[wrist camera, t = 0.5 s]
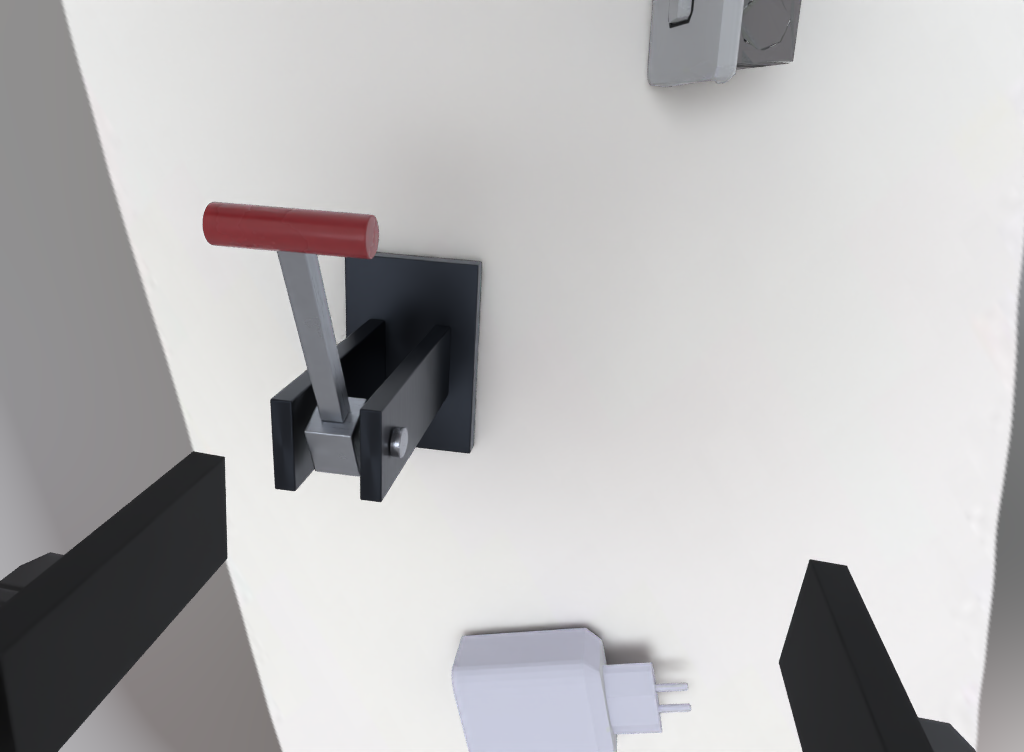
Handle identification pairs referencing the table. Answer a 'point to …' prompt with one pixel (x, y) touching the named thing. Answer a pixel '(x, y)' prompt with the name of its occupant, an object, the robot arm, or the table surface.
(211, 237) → the lever
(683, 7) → the electrical switch
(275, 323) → the table surface
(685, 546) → the table surface
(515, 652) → the charger
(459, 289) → the bracket
